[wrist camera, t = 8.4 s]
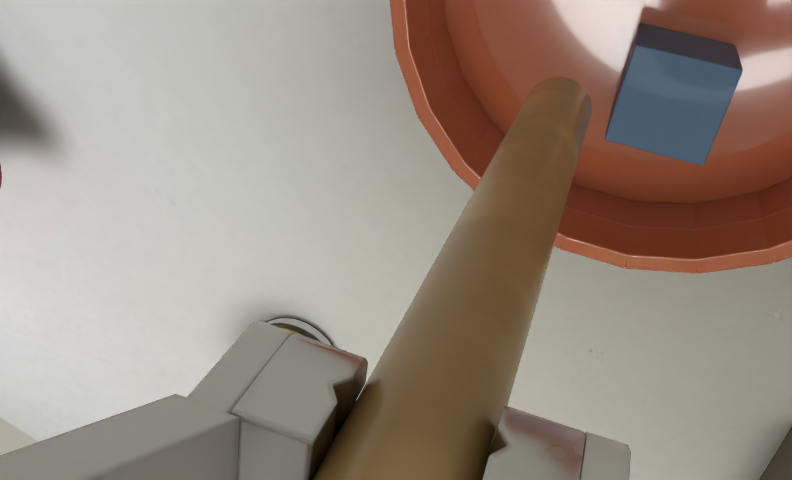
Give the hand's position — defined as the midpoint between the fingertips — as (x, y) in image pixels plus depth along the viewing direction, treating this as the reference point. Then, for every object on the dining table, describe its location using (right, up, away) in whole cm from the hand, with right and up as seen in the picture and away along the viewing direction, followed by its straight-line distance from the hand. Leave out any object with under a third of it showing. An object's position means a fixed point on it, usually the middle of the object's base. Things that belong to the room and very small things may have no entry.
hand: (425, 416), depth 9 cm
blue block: (+12, +9, +22) cm, 27 cm away
